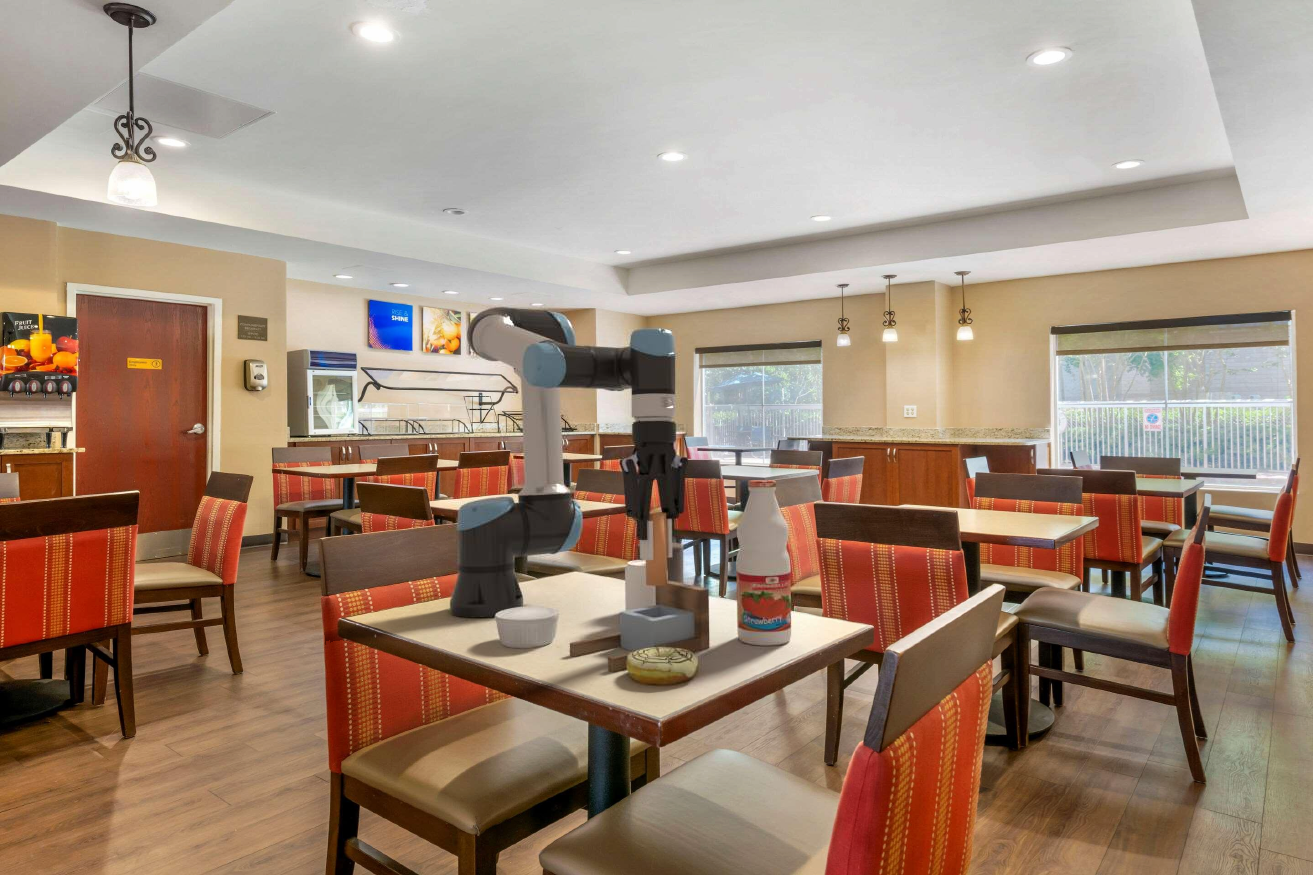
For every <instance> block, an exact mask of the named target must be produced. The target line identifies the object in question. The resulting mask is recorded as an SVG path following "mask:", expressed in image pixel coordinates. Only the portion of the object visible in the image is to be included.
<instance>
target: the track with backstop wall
mask: <svg viewBox="0 0 1313 875" xmlns="http://www.w3.org/2000/svg"><path fill="white" fill-rule="evenodd" d="M655 589H656V605H659V604H662V605H666V606H670V607H674V608H678V609H682V610H686V611H690V612H694V616H695V637H693V638H689V639H685V640H680V641H676V642H672V643H667V644H663V645H659V646H655V647H671V648H680V649H686V650H689V651H690V652H692V653H694V652H695V653H696V652H698V651H699V652H700V651H703V650H707V649H710V647H711V646H710V645H711V644H710V597H709V596H710V589H709V588H705V587H701V586H696V585H693V584H692V585H691V584H688V583H684V582H683V583H678V582H674V581H669V580H667V585H662V586H655ZM618 647H621V631H620V632H617V633H612V634H606V635H601V636H597V637H596V636H595V637H592V638H587V639H583V640H578V641H573V642H569V656H570V657H575V658H576V657H579V656H583V655H587V654H592V653H596V652H601V651H605V650H610V649H614V648H618ZM650 648H651V647H650ZM633 652H634V651H630V652H624V653H622V654H616V655H612V656H608V658H607V663H608V666H607V667H608V668H607V669H608V671H609V672H611V673H615V672H619V671H623V670H627V667H626V665H627V664H626V661H627V657H628V655H629V654H631V653H633Z"/></svg>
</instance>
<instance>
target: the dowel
mask: <svg viewBox="0 0 1313 875" xmlns="http://www.w3.org/2000/svg"><path fill="white" fill-rule="evenodd" d="M648 521H653V560H646V585H649V586H662V585H667V543H666V513H662V512H661V511H660V512H649V519H648Z"/></svg>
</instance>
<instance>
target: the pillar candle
mask: <svg viewBox="0 0 1313 875" xmlns="http://www.w3.org/2000/svg"><path fill="white" fill-rule="evenodd" d="M636 549H637V552H636V553H637V554H636V555H637V556H636V558H637V559H636V560H645V559H640V543H637V548H636ZM667 579H668V580H669V581H674V582H678V583H683V584H684V544H683V543H679V542H672V557H670V558H668V557H667Z"/></svg>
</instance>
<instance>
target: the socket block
mask: <svg viewBox="0 0 1313 875" xmlns="http://www.w3.org/2000/svg"><path fill="white" fill-rule="evenodd" d="M619 614H620V617H619V618H620V623H619V624H620V626H619V627H620V632H621V646H620V648H623V649H625V650H629V651H630V652H633V651H637V650H641V649H644V648H650V647H655V646H659V645H663V644H667V643H672V642H676V641H680V640H685V639H689V638H693V637H695V616H694V612H690V611H686V610H682V609H678V608H674V607H670V606H666V605H662V604H659V605H654V606H649V607H643V608H638V609H633V610H628V611H626V610H623V611H620V612H619Z"/></svg>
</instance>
